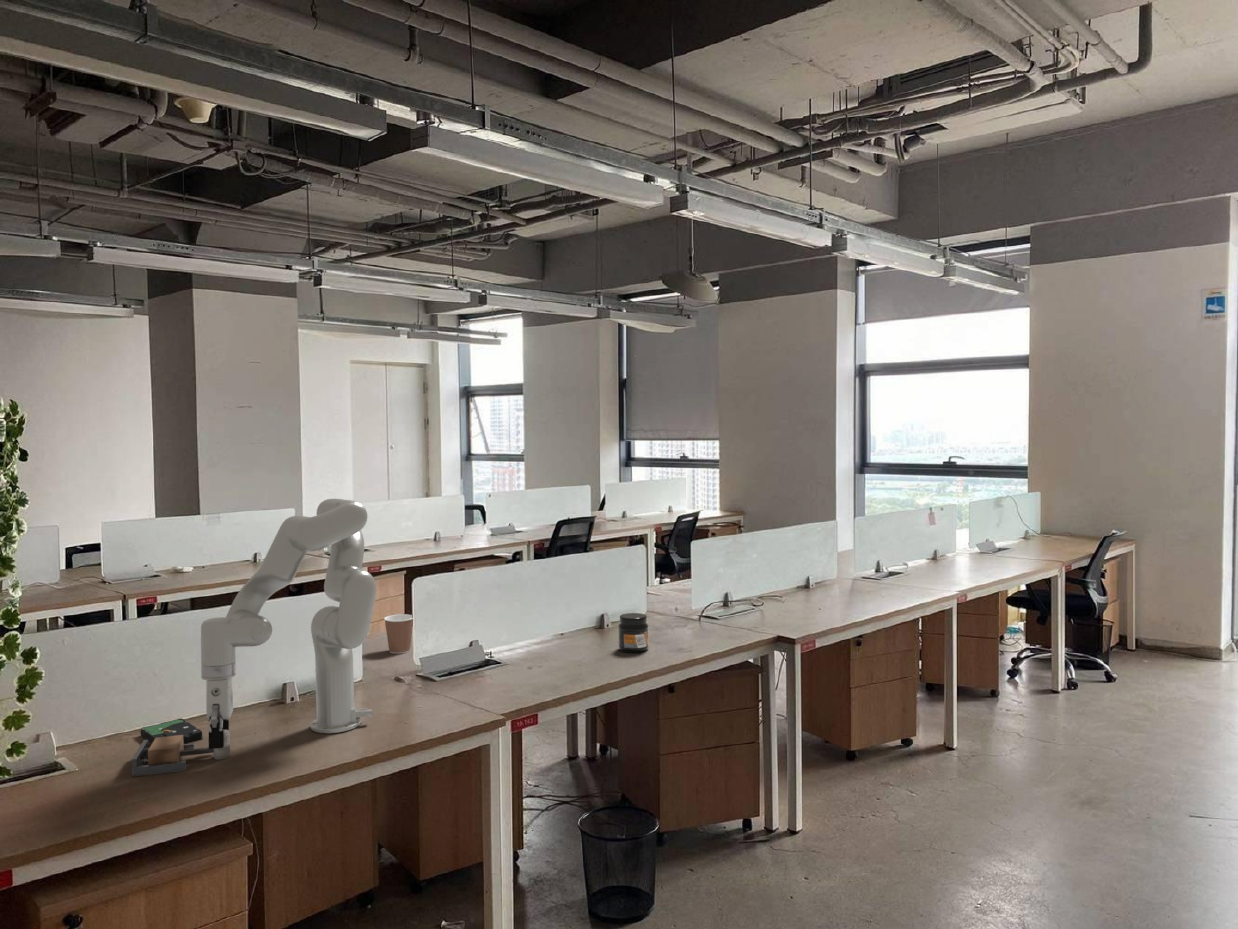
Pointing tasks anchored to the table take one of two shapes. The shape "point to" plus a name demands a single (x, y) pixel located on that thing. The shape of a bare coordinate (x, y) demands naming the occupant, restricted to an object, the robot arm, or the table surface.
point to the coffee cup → (399, 632)
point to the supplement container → (633, 633)
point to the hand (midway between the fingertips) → (219, 741)
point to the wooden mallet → (182, 749)
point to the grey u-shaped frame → (142, 769)
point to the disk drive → (172, 731)
